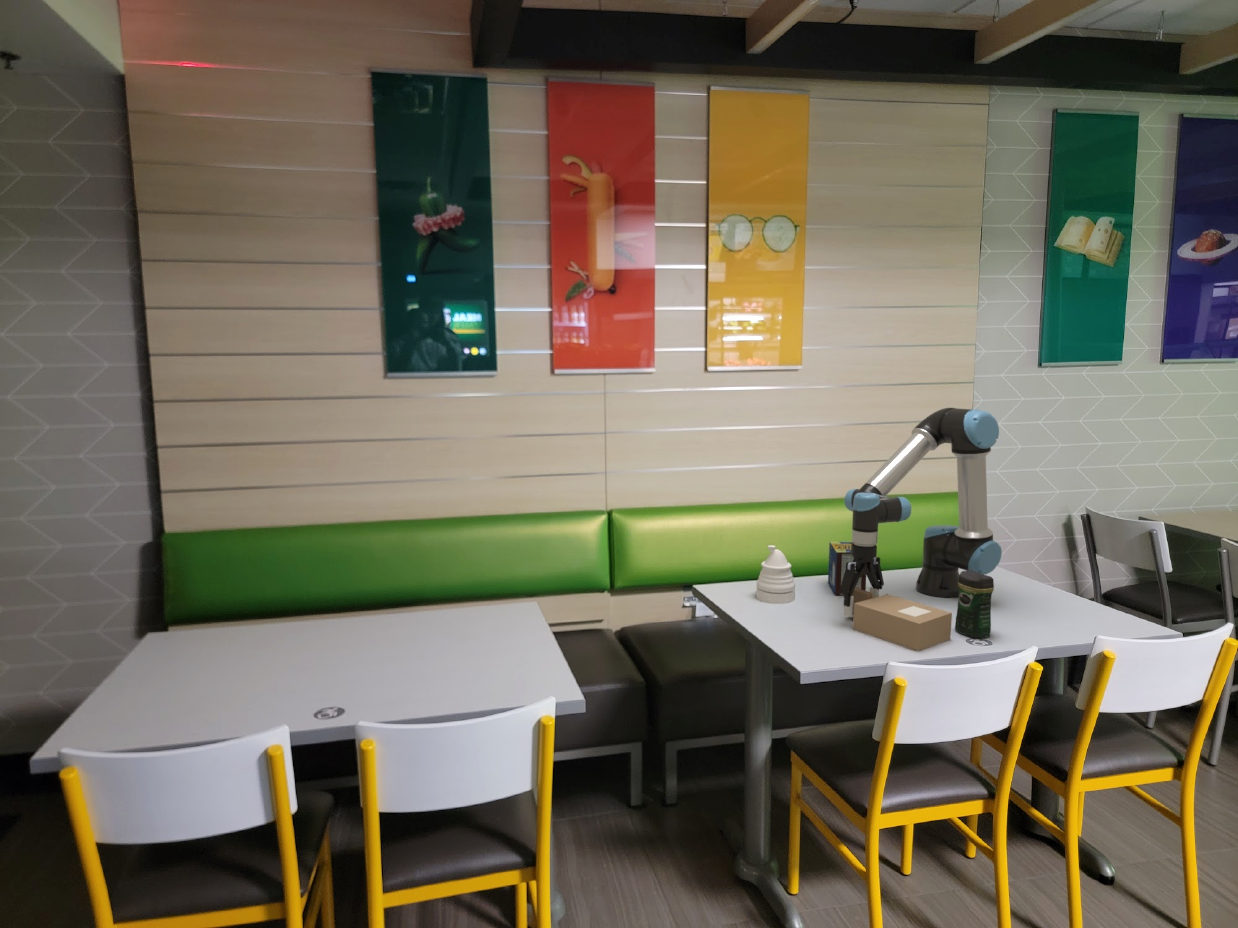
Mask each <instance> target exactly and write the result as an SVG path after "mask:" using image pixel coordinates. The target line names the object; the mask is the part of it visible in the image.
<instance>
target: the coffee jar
mask: <svg viewBox="0 0 1238 928" xmlns="http://www.w3.org/2000/svg"><path fill="white" fill-rule="evenodd" d="M994 586H995V583H994V578H993V577H992V576H990V575H988V574H981V573H978V572H975V571H973V570H970V571H966V570H962V571H961V572H960V573H959V579H958V587H959V596H958V603H957V609H956V616H955V624H954V625H955V626H954V629H955V631H957V632H958V633H960V634H963V635H965V636H968V637H969V638H979V639H985V638H987V637H989V636H991V635H992V634H991V633H992V631H991V630H992V628H991V627H992V623H991V622H992V621H991V620H992V618H991V617H992V615H991V611H992V610H991V609H992V608H991V607H992V606H991V605H992V595H993V592H994V591H995V590H994V589H995V587H994Z"/></svg>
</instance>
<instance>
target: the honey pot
mask: <svg viewBox="0 0 1238 928" xmlns="http://www.w3.org/2000/svg"><path fill="white" fill-rule="evenodd" d="M776 547H777V546H776V545H772V544H771V545H767V549H768V551H769V552H770V553H769V555H768V556H767V558H766V559H765V560H764V561H762V562H761V563H760V566H761V567H762V568H761V570H760V572H759V576H758V579H757V580H756V589H755V590H756V591H755V593H756V595H755V597H756V599H757V600H759V601H761V602H764V603H768V604H774V605H775V604H776V605H777V604H780V605H781V604H782V605H783V604H790V603H792V602H794V601H795V599H796V582H795V580H794V575H793V572H792V570H791V568H792V563H790V562H789V561H788V560H787V558H786V556H785V554H784V553H783V551H781V550H780V549H776Z"/></svg>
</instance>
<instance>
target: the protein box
mask: <svg viewBox="0 0 1238 928" xmlns="http://www.w3.org/2000/svg"><path fill="white" fill-rule="evenodd" d="M852 543H853V542H852V541H832V540H831V541H829V546H828V547H829V548H828V550H829V551H828V571H827V572H828V574H827V575H828V577H827V584H828V585H829V587H830V589H831V591H832V593H833V595H834V597H835V596H837V597H838V596H841V597H844V595H842V594H840V593H839V591H840V587H841V584H842V580H843V577H844V573H845V570H846V563H847V562H849V563H852V562H853V559H854V557H853V556H852V555H851V544H852ZM855 572H856V571H855ZM856 573H857V572H856ZM856 587H859V589H861V590H864V591H867V590H866V589H867V588H866V587H867V575H866V573H865V574H863V575H862V577H860V578H859V580H858V583H857V585H856ZM843 591H844V590H843Z"/></svg>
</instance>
